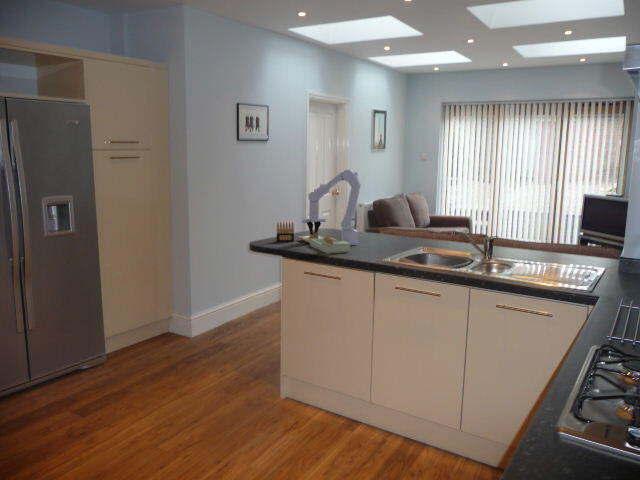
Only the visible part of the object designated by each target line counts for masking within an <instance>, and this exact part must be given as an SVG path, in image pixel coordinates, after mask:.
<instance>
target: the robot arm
mask: <svg viewBox="0 0 640 480" xmlns="http://www.w3.org/2000/svg"><path fill="white" fill-rule="evenodd" d="M341 181H345V182H347V183H348V184H349V186H350V188H351V189H350V192H349V197H348V201H347V206H346V209H345V210H346V211H345V214H344V217H343V218H342V221H341V222H340V226H341V241H346V242H348V243H350V246H359V231H358V229H355V228H354V226H355V225H356V220H355V219H356V217H355V213H356V208H357V204H358V200H359V195H360V190H361V185H362V184H361V181H360V178H359V174H358V173H357V171H356V170H355V169H352V168H350V169H345V170H343V171H342V172H340V173H338V174H336V176H334V177H333V178H332V179H331V180H330V181H328V182H327V183H320V185H319V187H317V188H316V189H315V188H314V189H313V191H311V192H310V193H309V194H308V196H307V199H308V201H309V205H308V208H309V209H308V210H309V211H308V215H309V216H308V218H305V219H303V218H302V219H301V223H303V224H306V225H307V227H308V230H309V235H310V234H311V235H312V234H313V231H314V232H317V233H319V228H320V227H321V226H322V225H321V224H322V223H326V220H327V219H326V218H320V200H321V198H323V197H324V196H326V195H327V194H329V192H330V190H331V188H332V187H334V186H335V185H337V184H338V183H340V182H341Z"/></svg>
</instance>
